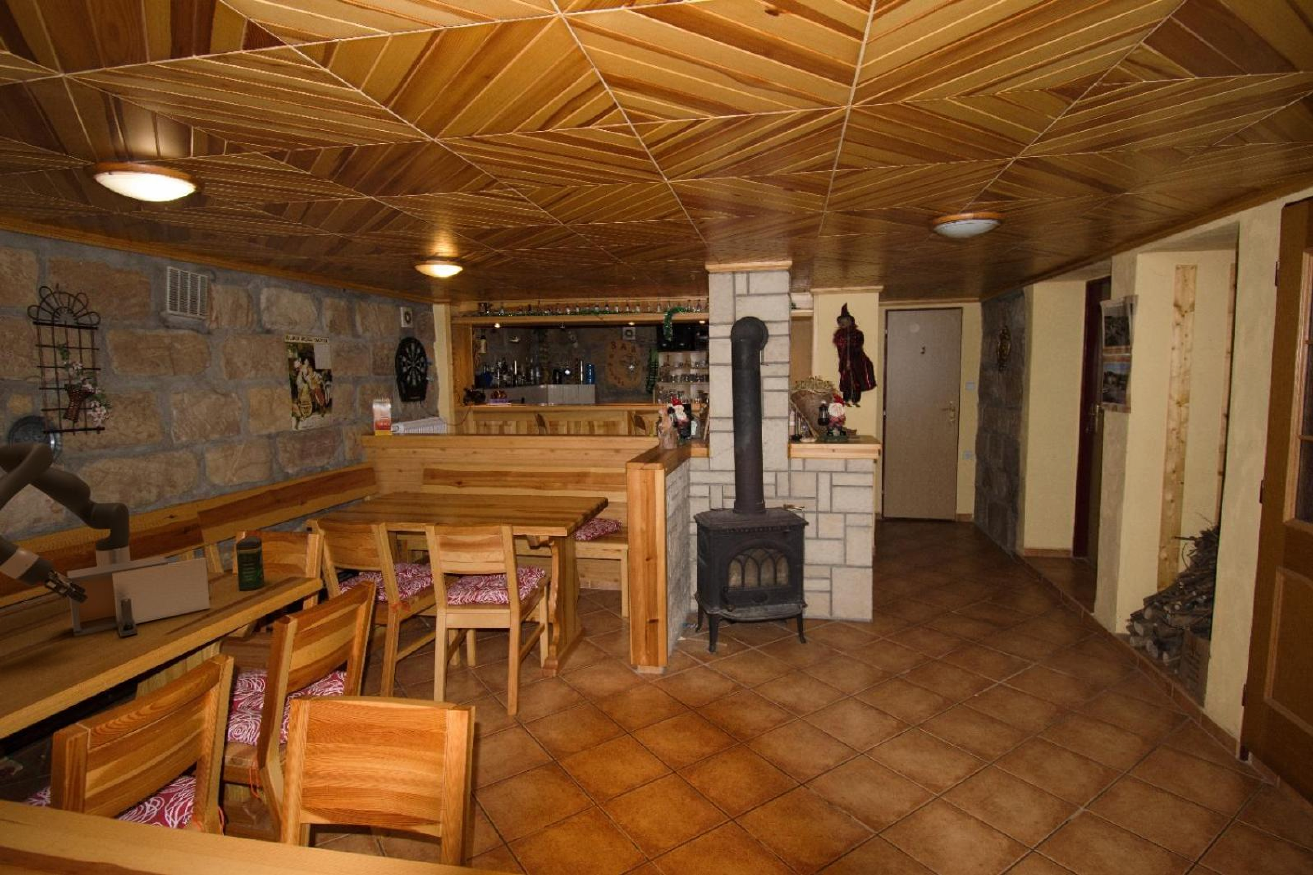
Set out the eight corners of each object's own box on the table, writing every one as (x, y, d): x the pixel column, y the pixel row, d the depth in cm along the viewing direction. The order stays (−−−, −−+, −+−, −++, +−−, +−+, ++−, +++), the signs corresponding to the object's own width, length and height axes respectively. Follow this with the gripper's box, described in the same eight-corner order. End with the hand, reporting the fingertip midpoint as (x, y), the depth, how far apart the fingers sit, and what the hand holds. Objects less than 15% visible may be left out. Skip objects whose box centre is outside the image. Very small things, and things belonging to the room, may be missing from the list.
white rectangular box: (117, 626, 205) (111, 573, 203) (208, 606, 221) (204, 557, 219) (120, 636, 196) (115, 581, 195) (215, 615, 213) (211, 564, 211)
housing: (73, 627, 205) (67, 571, 203) (167, 607, 222) (163, 555, 220) (74, 636, 198) (68, 578, 196) (172, 615, 215) (167, 561, 213)
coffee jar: (261, 589, 240) (258, 539, 238) (236, 592, 237) (232, 541, 235) (267, 581, 249) (263, 533, 247) (242, 584, 246) (239, 535, 245)
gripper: (38, 560, 178) (97, 591, 187) (37, 550, 189) (93, 580, 198) (13, 583, 175) (74, 614, 184) (13, 572, 185) (71, 601, 195)
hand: (84, 596), depth 191 cm, fingers open, 8 cm apart
